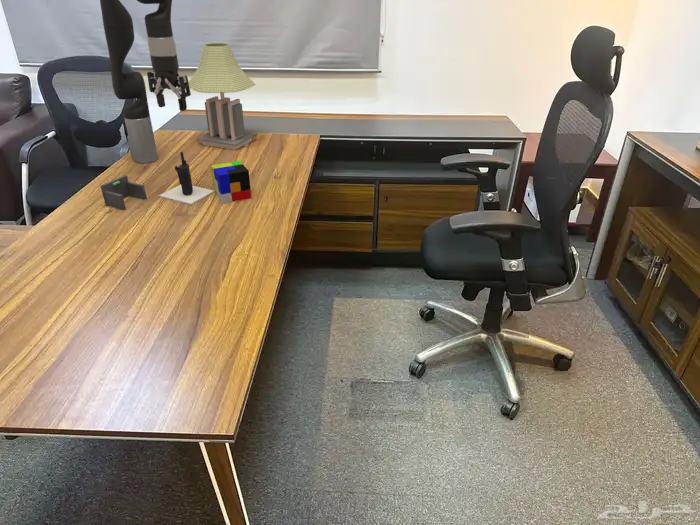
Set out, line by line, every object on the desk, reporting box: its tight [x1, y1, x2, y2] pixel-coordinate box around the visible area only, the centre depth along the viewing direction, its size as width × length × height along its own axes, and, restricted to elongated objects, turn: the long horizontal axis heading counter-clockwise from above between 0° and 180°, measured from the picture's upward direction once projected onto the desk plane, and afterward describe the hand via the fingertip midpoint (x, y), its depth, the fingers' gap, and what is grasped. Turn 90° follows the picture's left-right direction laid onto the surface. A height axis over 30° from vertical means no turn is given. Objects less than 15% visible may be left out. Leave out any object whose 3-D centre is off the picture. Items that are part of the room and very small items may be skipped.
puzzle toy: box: [210, 160, 252, 204], centre depth 166 cm, size 10×10×10 cm
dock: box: [99, 175, 148, 211], centre depth 161 cm, size 8×10×7 cm
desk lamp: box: [188, 42, 258, 151], centre depth 206 cm, size 26×28×40 cm
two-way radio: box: [174, 151, 193, 195], centre depth 164 cm, size 6×4×15 cm
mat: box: [158, 184, 215, 206], centre depth 168 cm, size 14×12×1 cm
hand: (172, 108), depth 153 cm, fingers open, 8 cm apart
